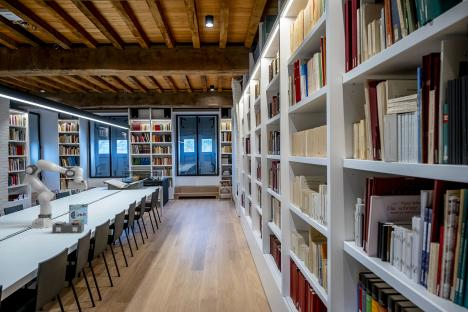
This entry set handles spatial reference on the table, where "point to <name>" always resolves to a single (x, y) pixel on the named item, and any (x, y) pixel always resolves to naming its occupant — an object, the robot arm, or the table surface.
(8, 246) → the table surface
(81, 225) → the switch block
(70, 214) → the gum box
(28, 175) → the robot arm
